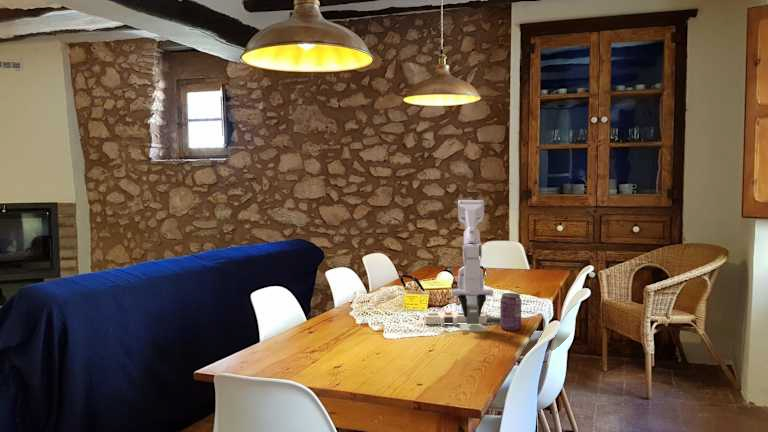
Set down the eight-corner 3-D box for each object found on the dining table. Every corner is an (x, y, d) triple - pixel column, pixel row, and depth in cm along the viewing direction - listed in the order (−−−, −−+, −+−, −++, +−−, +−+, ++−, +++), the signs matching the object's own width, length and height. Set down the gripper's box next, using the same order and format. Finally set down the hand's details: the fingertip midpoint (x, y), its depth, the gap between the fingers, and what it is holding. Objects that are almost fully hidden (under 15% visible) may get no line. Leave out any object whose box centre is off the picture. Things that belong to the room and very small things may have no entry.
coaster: (458, 325, 216) (458, 324, 216) (480, 325, 217) (480, 323, 217) (462, 331, 208) (462, 330, 208) (485, 331, 209) (485, 329, 209)
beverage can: (519, 326, 215) (519, 292, 214) (522, 331, 208) (522, 297, 207) (499, 325, 216) (499, 292, 215) (501, 331, 209) (501, 296, 208)
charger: (463, 318, 217) (463, 302, 217) (474, 318, 218) (474, 302, 217) (467, 324, 210) (467, 306, 209) (478, 323, 210) (478, 306, 210)
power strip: (424, 320, 224) (424, 311, 224) (499, 319, 225) (499, 309, 225) (426, 326, 215) (426, 316, 215) (504, 325, 217) (504, 315, 216)
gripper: (453, 280, 207) (453, 319, 208) (495, 279, 207) (494, 318, 209) (450, 276, 214) (449, 314, 215) (490, 276, 215) (490, 313, 216)
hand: (471, 316), depth 212 cm, fingers closed on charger, 4 cm apart
